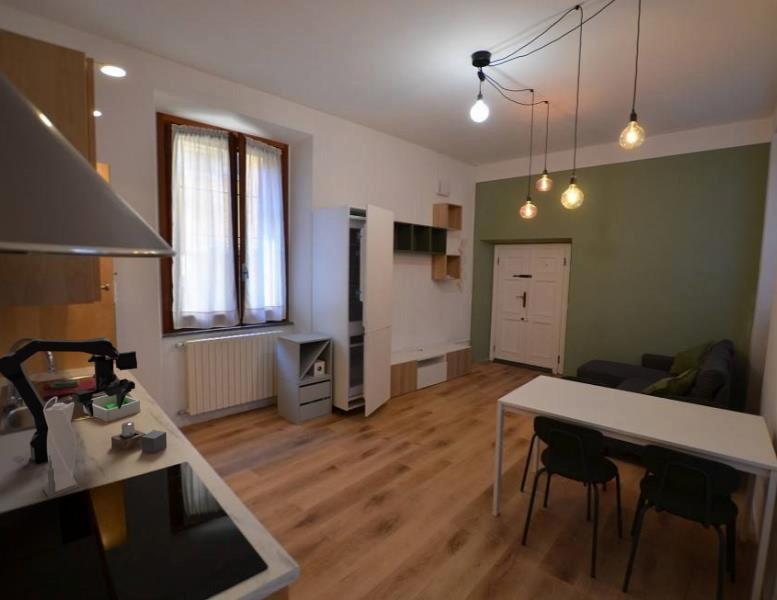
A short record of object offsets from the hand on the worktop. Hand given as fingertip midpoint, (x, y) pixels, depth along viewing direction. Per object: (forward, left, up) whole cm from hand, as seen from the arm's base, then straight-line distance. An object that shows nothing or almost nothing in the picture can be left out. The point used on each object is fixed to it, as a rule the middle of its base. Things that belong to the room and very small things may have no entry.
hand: (105, 412), depth 145 cm
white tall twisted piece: (-21, -17, -13) cm, 30 cm away
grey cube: (+7, -18, -13) cm, 23 cm away
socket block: (+4, -7, -13) cm, 15 cm away
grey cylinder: (+4, -7, -12) cm, 15 cm away
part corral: (+18, +32, -13) cm, 39 cm away
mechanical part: (+20, +31, -13) cm, 39 cm away
